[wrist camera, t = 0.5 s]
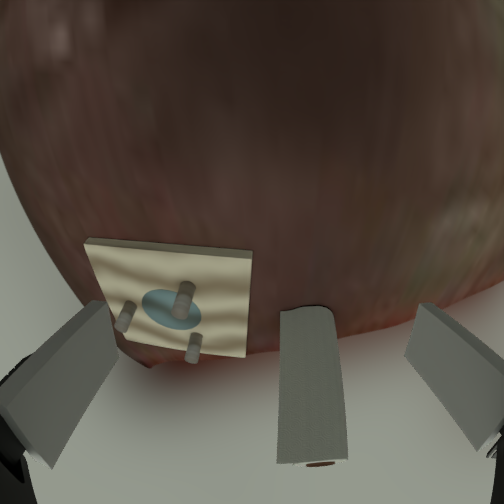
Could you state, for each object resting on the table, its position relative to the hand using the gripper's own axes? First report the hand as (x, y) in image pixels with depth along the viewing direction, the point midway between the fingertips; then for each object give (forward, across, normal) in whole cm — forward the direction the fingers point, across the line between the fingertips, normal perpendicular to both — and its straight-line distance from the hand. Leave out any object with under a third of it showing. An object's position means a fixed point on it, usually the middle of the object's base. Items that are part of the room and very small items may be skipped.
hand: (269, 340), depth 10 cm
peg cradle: (+27, -11, -11) cm, 31 cm away
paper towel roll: (+26, +9, -12) cm, 30 cm away
